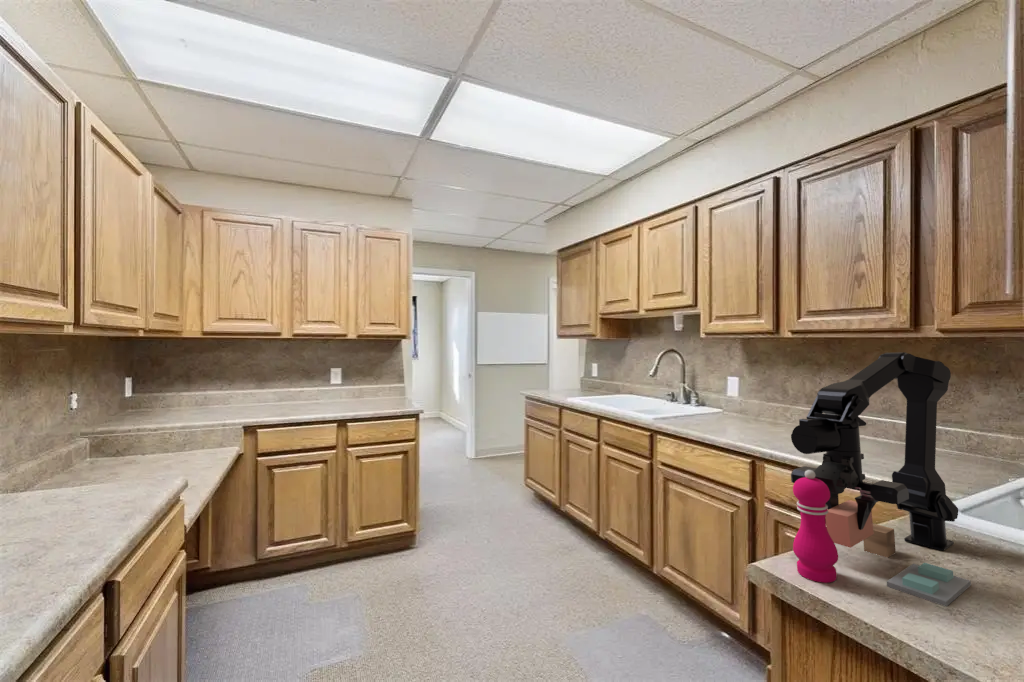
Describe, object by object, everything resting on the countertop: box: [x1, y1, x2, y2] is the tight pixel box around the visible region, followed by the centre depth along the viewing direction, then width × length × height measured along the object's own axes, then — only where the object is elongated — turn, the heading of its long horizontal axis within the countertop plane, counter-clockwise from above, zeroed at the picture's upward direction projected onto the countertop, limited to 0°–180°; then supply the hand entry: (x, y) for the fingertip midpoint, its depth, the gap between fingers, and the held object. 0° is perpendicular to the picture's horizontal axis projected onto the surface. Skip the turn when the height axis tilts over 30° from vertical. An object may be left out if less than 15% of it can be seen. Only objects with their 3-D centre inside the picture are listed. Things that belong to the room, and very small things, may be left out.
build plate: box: [886, 562, 972, 607], centre depth 80 cm, size 12×8×2 cm, turn 120°
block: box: [862, 523, 896, 559], centre depth 93 cm, size 4×4×5 cm
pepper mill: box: [792, 470, 839, 584], centre depth 85 cm, size 7×7×20 cm
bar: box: [825, 499, 874, 548], centre depth 91 cm, size 10×4×6 cm, turn 120°
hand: (848, 525), depth 90 cm, fingers closed on bar, 4 cm apart
